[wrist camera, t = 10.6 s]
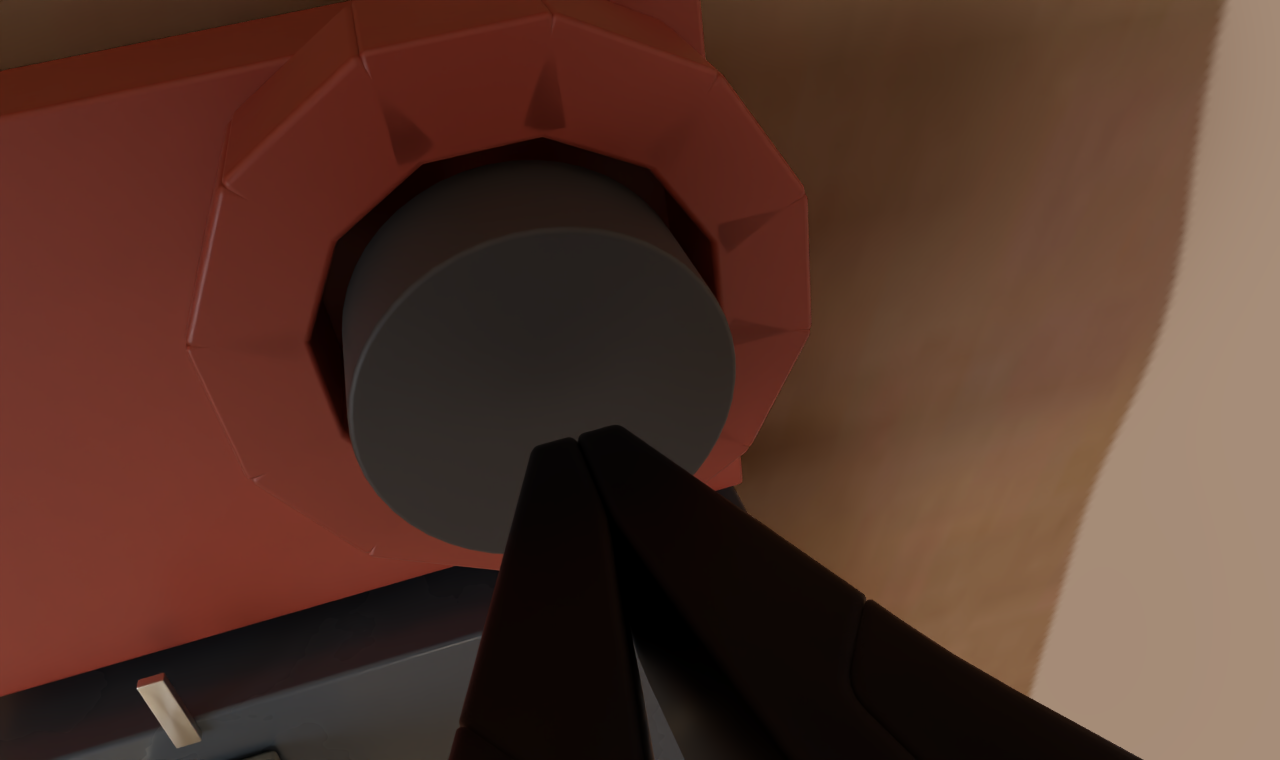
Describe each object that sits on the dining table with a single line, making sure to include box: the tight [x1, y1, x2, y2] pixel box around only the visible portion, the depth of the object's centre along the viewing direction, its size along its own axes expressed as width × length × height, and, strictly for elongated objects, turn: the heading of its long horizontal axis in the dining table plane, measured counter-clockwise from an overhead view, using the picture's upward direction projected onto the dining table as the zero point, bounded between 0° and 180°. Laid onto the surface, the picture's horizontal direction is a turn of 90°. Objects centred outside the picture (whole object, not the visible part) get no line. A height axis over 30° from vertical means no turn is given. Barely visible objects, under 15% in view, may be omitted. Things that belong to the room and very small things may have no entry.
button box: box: [0, 0, 812, 697], centre depth 13 cm, size 12×8×4 cm
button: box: [342, 160, 736, 554], centre depth 11 cm, size 4×4×2 cm
